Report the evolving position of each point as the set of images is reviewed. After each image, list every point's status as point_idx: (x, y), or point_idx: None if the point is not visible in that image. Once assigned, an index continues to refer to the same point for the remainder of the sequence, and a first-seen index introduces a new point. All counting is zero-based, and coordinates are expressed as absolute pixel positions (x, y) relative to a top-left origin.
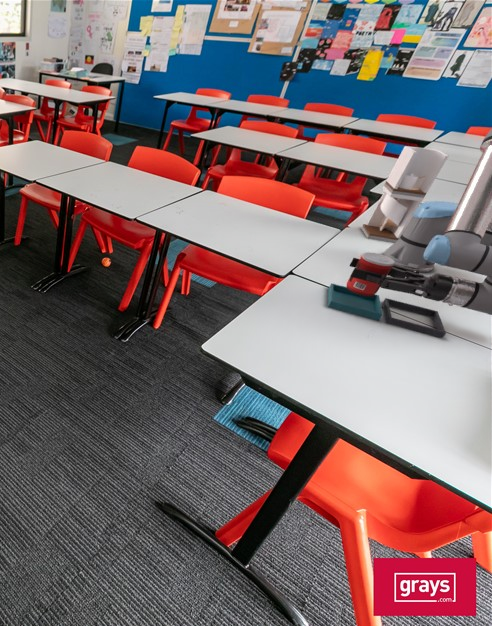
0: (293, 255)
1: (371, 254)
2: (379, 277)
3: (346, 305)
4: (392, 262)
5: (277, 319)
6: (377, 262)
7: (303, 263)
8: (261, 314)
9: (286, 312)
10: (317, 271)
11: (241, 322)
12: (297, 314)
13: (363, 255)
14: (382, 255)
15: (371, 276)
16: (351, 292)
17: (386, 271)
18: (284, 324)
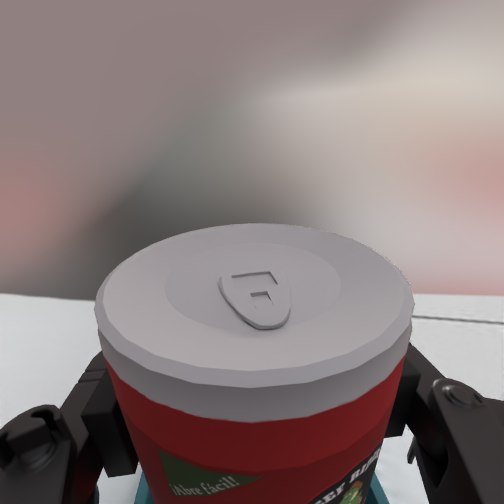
0: (453, 300)
1: (316, 243)
2: (76, 427)
3: (142, 475)
4: (215, 356)
5: (47, 333)
6: (122, 263)
7: (438, 322)
8: (70, 311)
9: (89, 340)
10: (438, 356)
11: (32, 298)
12: (81, 359)
13: (227, 225)
14: (381, 271)
15: (87, 368)
16: (367, 497)
17: (131, 432)
18: (19, 346)
